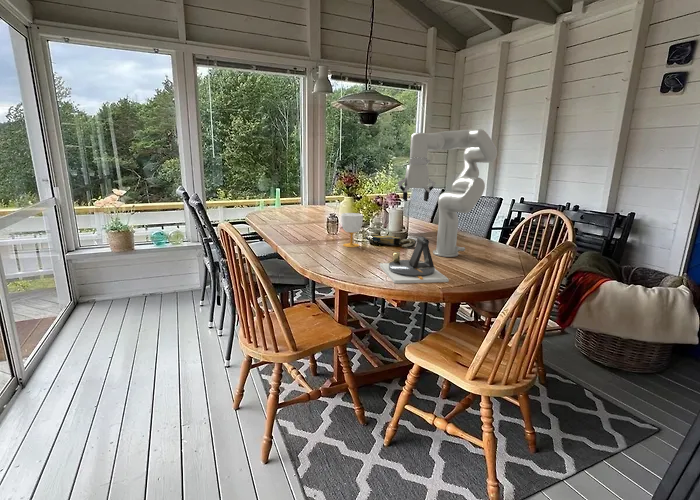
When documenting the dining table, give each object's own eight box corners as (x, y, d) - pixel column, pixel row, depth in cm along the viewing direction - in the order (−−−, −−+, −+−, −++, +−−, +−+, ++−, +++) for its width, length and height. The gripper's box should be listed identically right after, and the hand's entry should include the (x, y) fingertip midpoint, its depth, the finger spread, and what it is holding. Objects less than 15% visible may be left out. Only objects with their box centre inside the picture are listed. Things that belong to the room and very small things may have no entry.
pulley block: (410, 238, 198) (362, 231, 215) (408, 249, 199) (360, 241, 216) (421, 238, 210) (375, 231, 227) (419, 249, 211) (373, 241, 227)
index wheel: (391, 261, 172) (392, 249, 170) (435, 265, 167) (436, 253, 166) (385, 273, 154) (386, 260, 152) (433, 278, 149) (434, 264, 148)
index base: (426, 265, 173) (427, 261, 173) (448, 281, 150) (448, 277, 150) (379, 266, 170) (379, 262, 169) (394, 283, 147) (394, 279, 146)
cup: (341, 242, 214) (341, 212, 210) (362, 243, 213) (363, 213, 209) (339, 247, 202) (340, 215, 198) (362, 248, 202) (363, 216, 198)
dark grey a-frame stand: (428, 263, 164) (430, 235, 161) (433, 267, 159) (436, 238, 156) (408, 263, 163) (410, 236, 160) (413, 267, 157) (415, 239, 154)
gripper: (433, 162, 173) (430, 200, 177) (396, 161, 170) (394, 200, 174) (439, 162, 166) (436, 202, 170) (401, 161, 163) (399, 201, 167)
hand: (415, 201), depth 172 cm, fingers open, 9 cm apart
